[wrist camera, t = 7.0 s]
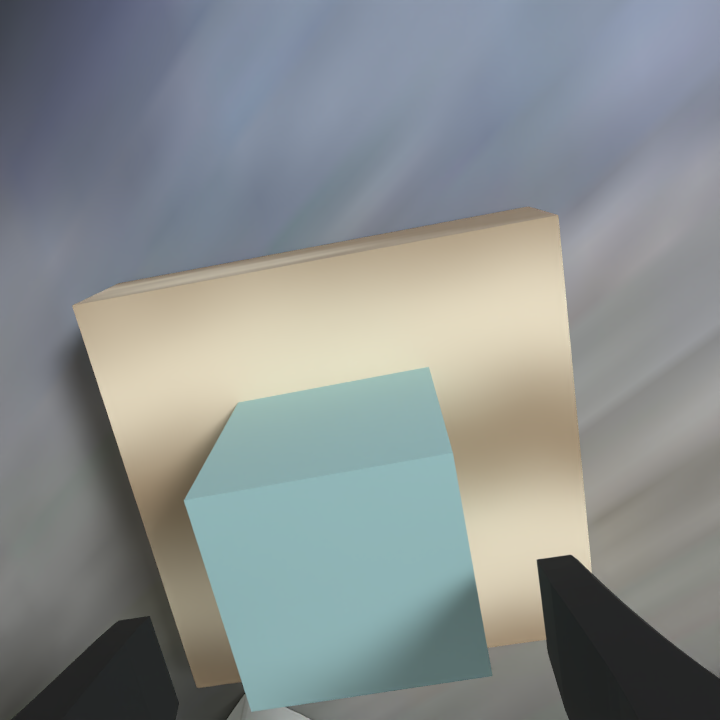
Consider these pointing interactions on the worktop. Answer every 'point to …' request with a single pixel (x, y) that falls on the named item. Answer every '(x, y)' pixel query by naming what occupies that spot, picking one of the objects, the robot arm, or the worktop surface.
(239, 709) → the small box
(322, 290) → the birch plinth
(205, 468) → the teal block
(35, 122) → the worktop surface
